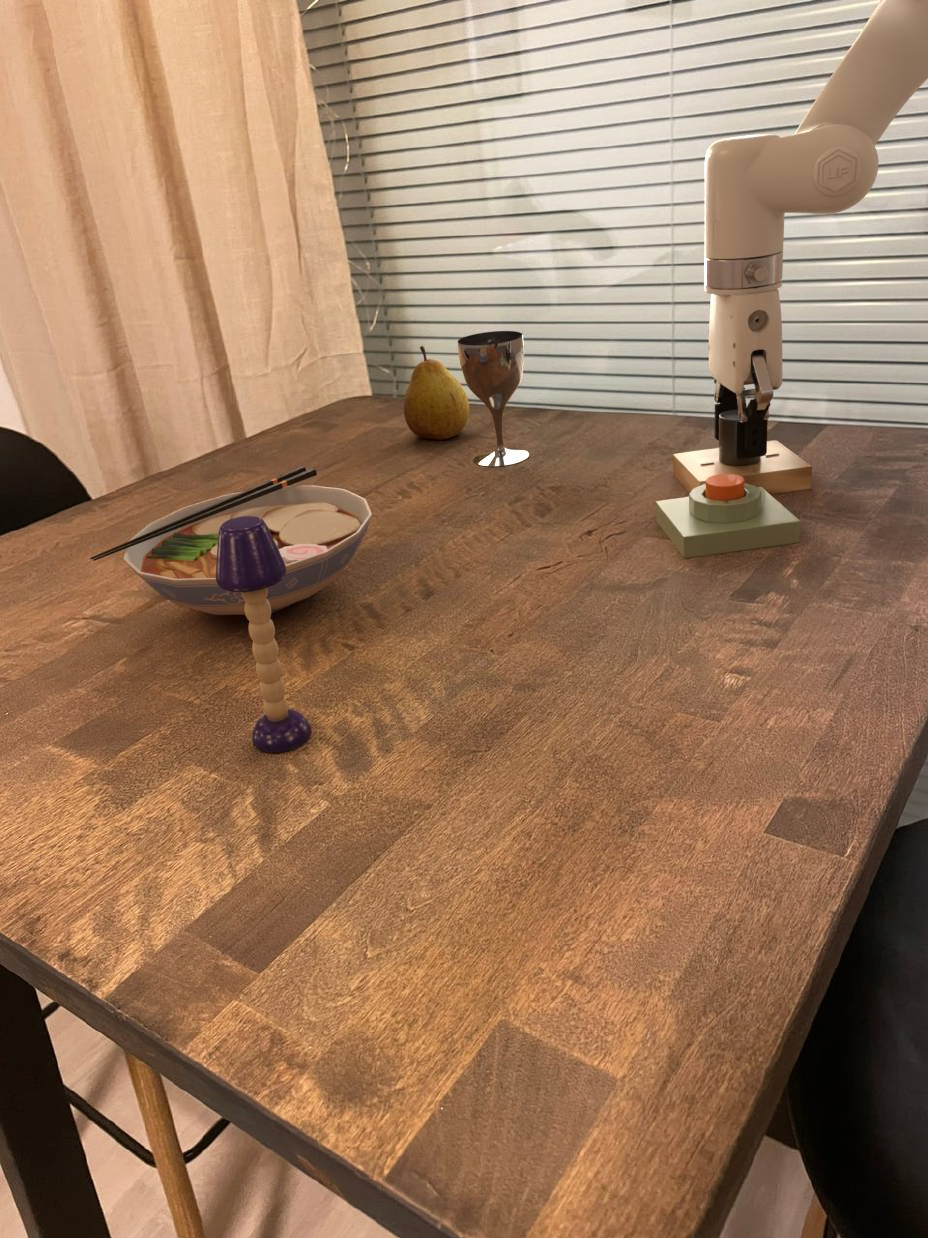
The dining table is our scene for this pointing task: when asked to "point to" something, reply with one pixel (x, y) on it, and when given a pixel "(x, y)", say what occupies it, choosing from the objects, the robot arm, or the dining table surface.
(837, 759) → the dining table surface
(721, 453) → the dimmer knob
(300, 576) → the ramen bowl
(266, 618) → the toy lamp
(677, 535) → the switch box
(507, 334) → the wine glass
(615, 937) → the dining table surface
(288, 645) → the dining table surface
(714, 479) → the power button
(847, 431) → the dining table surface
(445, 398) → the fruit
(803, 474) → the dimmer panel
